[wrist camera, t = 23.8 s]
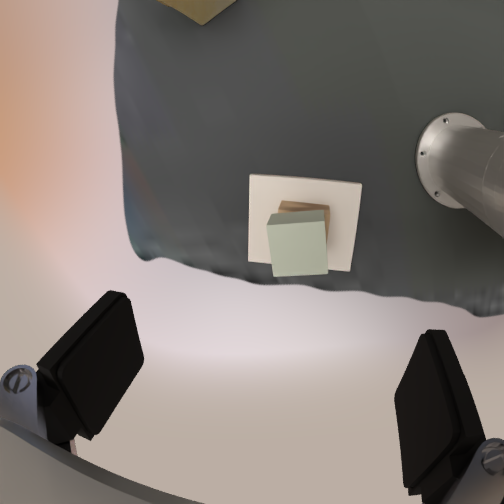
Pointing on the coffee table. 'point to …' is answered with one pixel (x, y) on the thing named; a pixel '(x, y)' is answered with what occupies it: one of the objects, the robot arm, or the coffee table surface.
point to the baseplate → (308, 191)
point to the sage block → (298, 243)
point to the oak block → (301, 206)
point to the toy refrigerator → (199, 8)
